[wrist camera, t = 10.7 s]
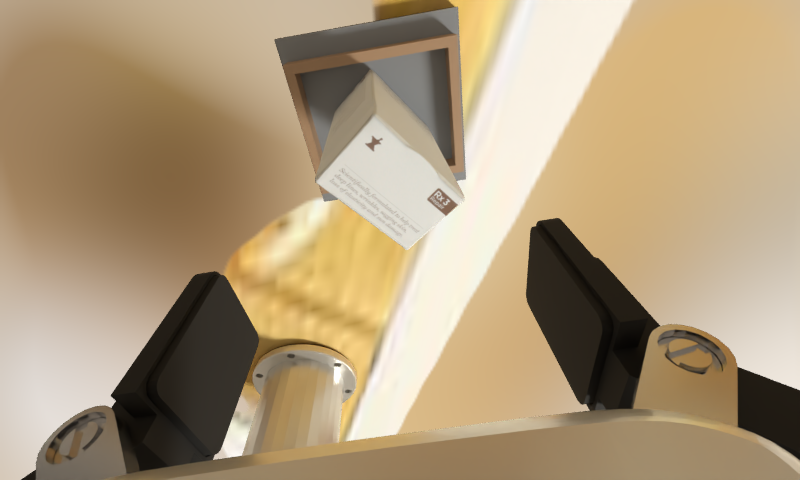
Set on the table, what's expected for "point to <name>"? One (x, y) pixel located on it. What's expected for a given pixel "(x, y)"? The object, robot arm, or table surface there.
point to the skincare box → (387, 164)
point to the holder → (381, 76)
